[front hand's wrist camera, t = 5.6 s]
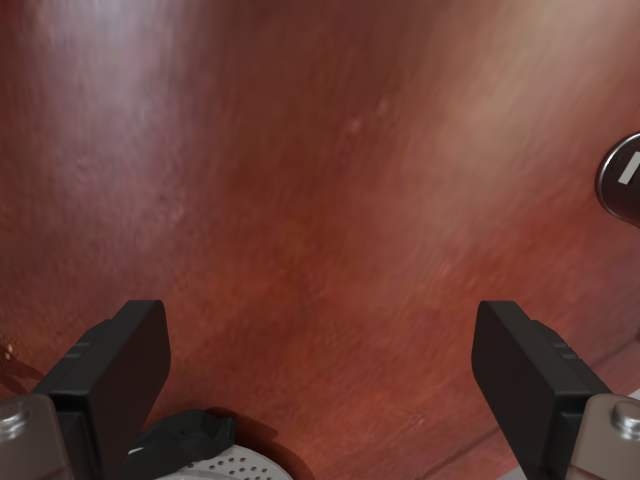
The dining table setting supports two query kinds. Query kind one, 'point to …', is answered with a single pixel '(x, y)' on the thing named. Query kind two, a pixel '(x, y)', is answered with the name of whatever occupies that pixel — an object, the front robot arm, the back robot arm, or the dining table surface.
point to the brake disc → (195, 452)
